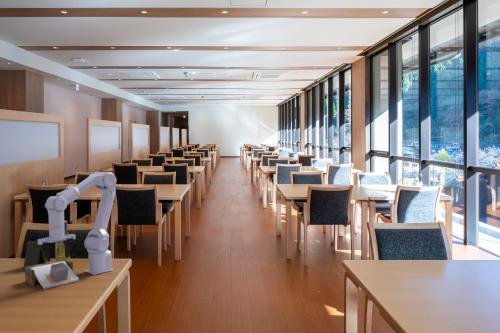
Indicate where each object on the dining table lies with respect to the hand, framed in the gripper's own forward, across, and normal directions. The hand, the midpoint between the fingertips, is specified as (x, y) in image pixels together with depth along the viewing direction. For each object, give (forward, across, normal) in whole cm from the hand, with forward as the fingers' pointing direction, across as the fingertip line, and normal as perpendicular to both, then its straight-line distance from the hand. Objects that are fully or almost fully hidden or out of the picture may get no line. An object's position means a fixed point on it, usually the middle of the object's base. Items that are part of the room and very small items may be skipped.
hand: (57, 259), depth 186 cm
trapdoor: (+7, 0, +4) cm, 8 cm away
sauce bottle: (+10, +15, +30) cm, 35 cm away
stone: (+8, 0, 0) cm, 8 cm away
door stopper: (+10, +3, +32) cm, 34 cm away
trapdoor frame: (+10, 0, +9) cm, 13 cm away
